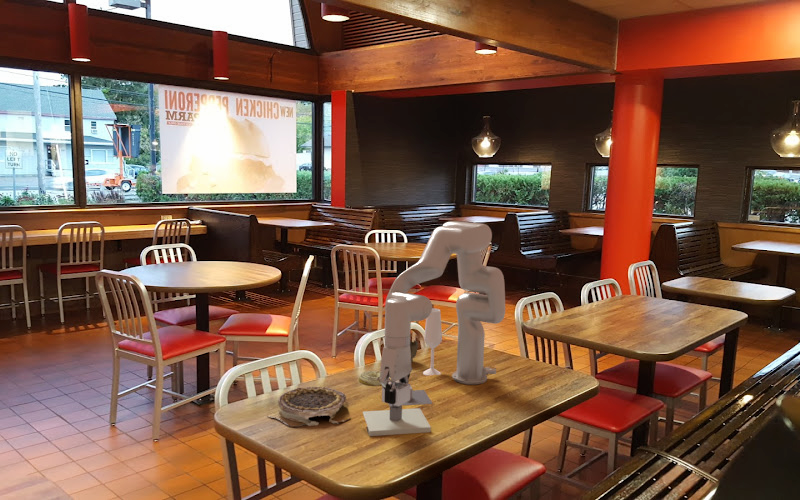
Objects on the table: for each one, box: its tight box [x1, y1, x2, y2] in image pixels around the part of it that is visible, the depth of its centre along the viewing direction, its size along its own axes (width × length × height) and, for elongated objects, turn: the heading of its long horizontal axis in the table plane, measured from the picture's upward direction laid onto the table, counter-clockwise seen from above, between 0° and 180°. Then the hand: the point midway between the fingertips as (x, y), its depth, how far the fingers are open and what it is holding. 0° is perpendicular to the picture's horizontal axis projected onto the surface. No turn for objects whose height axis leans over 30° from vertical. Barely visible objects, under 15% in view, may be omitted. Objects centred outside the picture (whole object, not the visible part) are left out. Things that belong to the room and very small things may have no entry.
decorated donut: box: [358, 370, 391, 387], centre depth 215 cm, size 10×11×4 cm
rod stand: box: [388, 385, 433, 407], centre depth 199 cm, size 14×12×5 cm
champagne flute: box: [422, 307, 443, 376], centre depth 226 cm, size 7×7×24 cm
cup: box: [410, 339, 419, 363], centre depth 239 cm, size 8×7×8 cm
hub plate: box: [362, 405, 432, 437], centre depth 182 cm, size 18×14×6 cm
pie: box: [267, 386, 351, 428], centre depth 192 cm, size 28×27×5 cm
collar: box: [381, 380, 411, 406], centre depth 181 cm, size 6×6×5 cm
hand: (396, 399), depth 181 cm, fingers closed on collar, 6 cm apart
